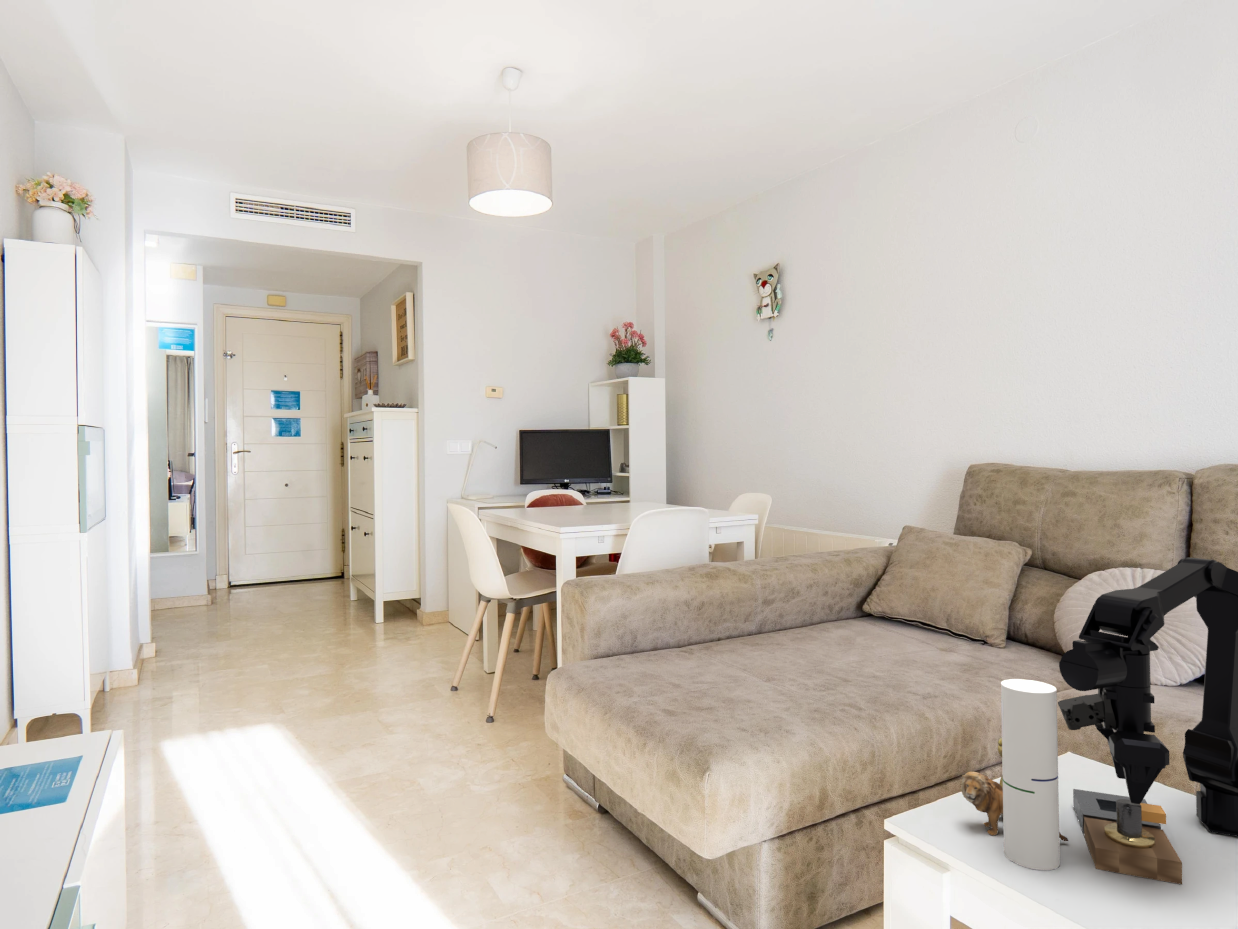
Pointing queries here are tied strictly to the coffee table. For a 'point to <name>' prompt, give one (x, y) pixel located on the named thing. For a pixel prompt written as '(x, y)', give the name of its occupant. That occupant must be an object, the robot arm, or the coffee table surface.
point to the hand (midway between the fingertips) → (1128, 790)
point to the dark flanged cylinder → (1129, 826)
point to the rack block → (1133, 854)
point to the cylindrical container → (1030, 773)
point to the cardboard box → (1153, 813)
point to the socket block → (1100, 807)
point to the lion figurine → (986, 798)
